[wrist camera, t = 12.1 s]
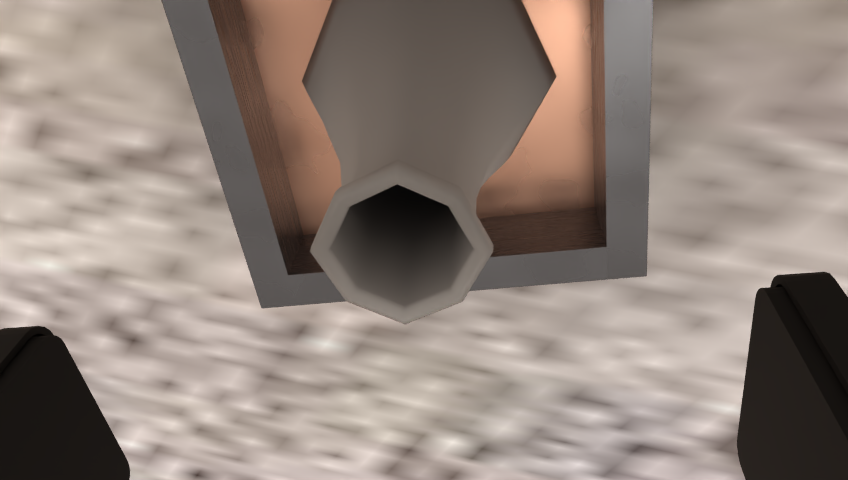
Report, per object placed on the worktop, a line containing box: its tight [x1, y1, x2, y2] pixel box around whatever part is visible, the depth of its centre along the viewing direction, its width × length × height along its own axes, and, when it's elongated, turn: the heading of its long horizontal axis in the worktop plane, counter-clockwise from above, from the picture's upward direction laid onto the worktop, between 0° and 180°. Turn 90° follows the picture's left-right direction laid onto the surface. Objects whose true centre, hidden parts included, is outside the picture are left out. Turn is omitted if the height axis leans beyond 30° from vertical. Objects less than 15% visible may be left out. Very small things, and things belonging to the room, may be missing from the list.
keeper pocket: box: [162, 0, 653, 308], centre depth 21 cm, size 12×12×3 cm
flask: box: [302, 0, 557, 324], centre depth 17 cm, size 7×7×10 cm
